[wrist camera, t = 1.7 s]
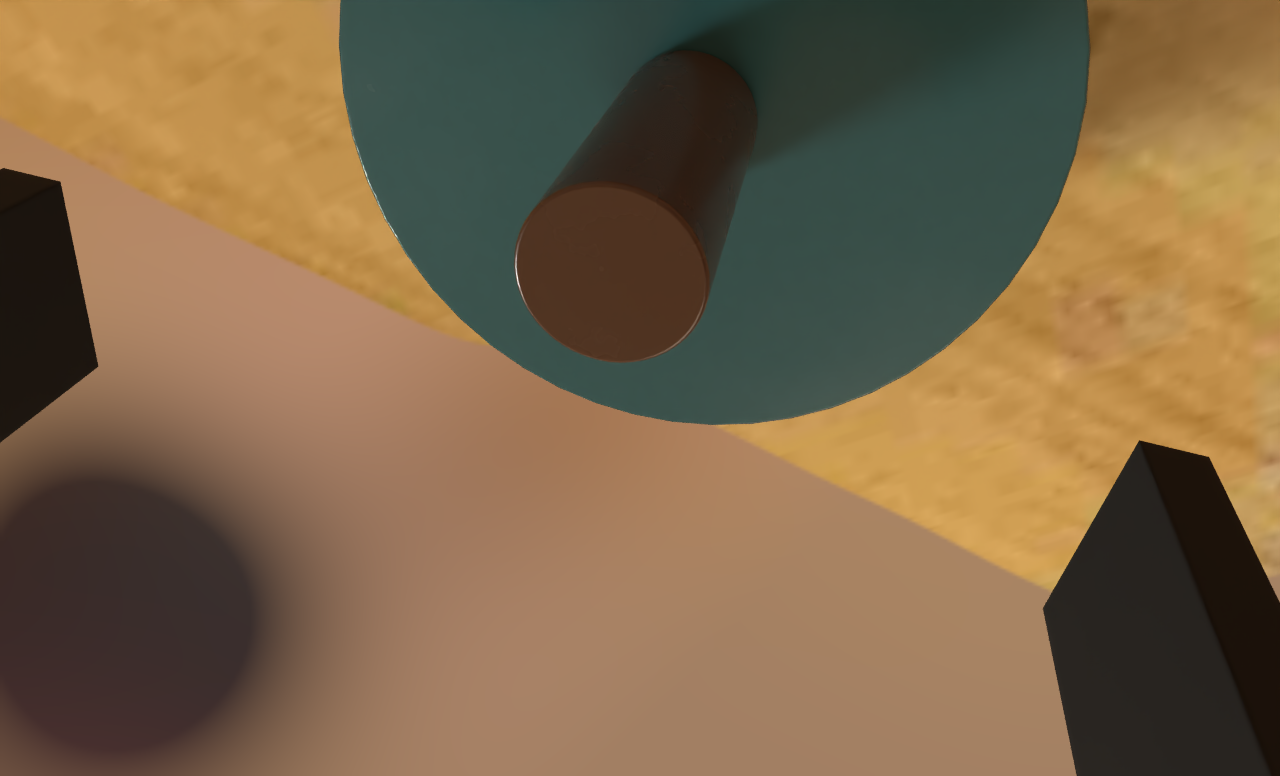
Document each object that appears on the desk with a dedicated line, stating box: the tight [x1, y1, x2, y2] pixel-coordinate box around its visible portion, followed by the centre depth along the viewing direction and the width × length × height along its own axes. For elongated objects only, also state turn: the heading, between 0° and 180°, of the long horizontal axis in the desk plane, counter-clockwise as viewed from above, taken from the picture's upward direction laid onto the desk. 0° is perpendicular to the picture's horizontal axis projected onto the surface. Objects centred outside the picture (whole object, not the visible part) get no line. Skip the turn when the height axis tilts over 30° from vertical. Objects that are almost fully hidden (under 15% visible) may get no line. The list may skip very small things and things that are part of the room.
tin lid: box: [339, 0, 1090, 425], centre depth 18 cm, size 16×16×9 cm
